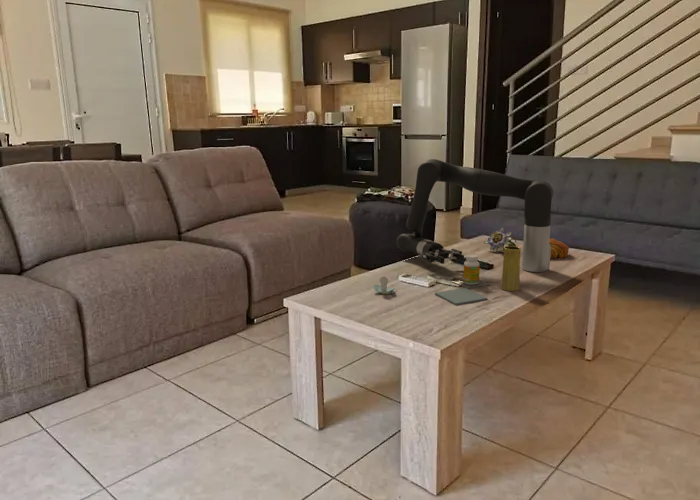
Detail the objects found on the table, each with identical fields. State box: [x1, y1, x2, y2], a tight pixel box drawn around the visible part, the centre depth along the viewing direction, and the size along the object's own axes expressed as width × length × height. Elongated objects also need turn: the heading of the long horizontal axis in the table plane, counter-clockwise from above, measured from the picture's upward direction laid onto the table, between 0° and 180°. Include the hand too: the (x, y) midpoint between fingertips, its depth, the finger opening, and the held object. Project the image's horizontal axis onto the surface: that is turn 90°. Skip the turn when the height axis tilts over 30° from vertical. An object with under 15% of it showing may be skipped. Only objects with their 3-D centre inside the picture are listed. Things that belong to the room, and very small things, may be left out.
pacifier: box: [373, 275, 396, 295], centre depth 182 cm, size 7×6×6 cm
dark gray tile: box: [459, 278, 492, 290], centre depth 191 cm, size 10×10×1 cm
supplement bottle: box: [462, 254, 481, 285], centre depth 190 cm, size 5×5×10 cm
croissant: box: [549, 238, 570, 259], centre depth 227 cm, size 14×16×8 cm
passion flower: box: [483, 227, 517, 253], centre depth 236 cm, size 11×11×12 cm
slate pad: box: [434, 287, 488, 306], centre depth 176 cm, size 12×12×1 cm
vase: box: [500, 245, 521, 292], centre depth 183 cm, size 6×6×14 cm
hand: (453, 259), depth 199 cm, fingers open, 8 cm apart
